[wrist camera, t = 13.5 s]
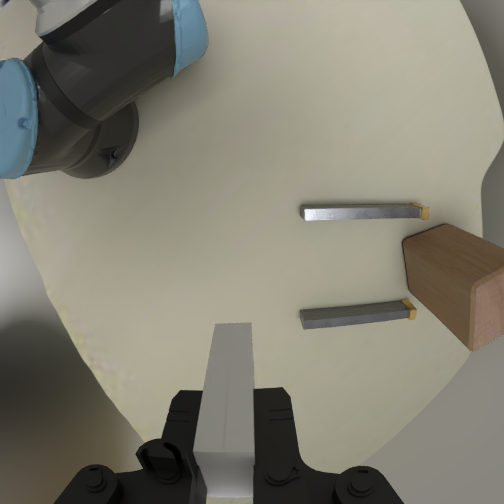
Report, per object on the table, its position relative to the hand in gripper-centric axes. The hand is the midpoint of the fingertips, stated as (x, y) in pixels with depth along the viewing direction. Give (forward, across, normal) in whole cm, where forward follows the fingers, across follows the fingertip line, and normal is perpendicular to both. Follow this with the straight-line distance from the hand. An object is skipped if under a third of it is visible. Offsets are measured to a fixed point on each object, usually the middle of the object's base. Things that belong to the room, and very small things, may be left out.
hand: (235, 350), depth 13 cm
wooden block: (+33, +30, -8) cm, 45 cm away
